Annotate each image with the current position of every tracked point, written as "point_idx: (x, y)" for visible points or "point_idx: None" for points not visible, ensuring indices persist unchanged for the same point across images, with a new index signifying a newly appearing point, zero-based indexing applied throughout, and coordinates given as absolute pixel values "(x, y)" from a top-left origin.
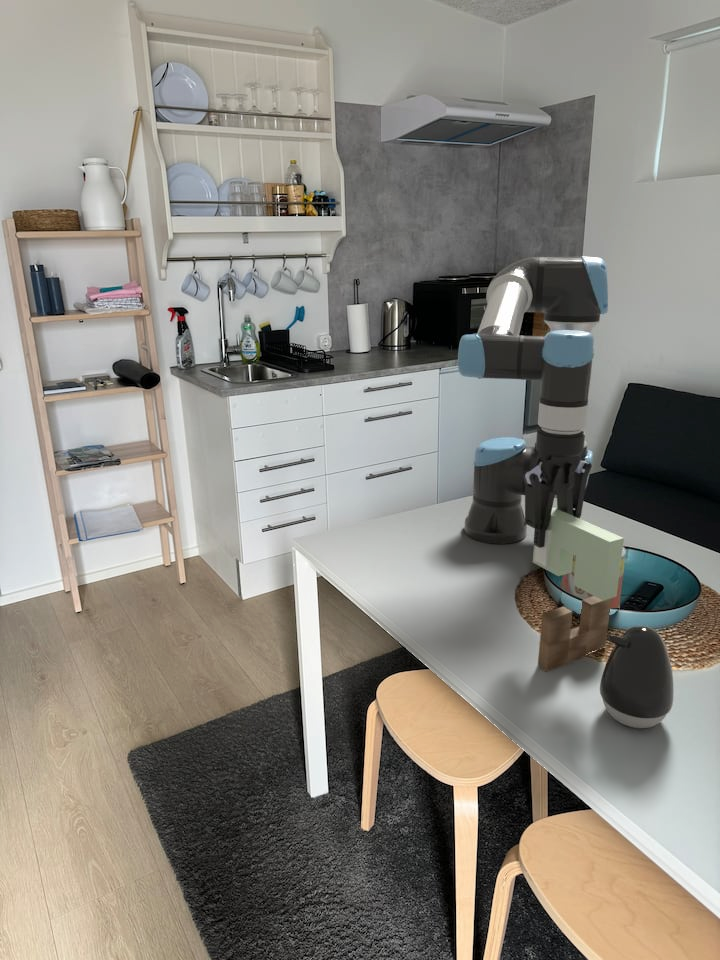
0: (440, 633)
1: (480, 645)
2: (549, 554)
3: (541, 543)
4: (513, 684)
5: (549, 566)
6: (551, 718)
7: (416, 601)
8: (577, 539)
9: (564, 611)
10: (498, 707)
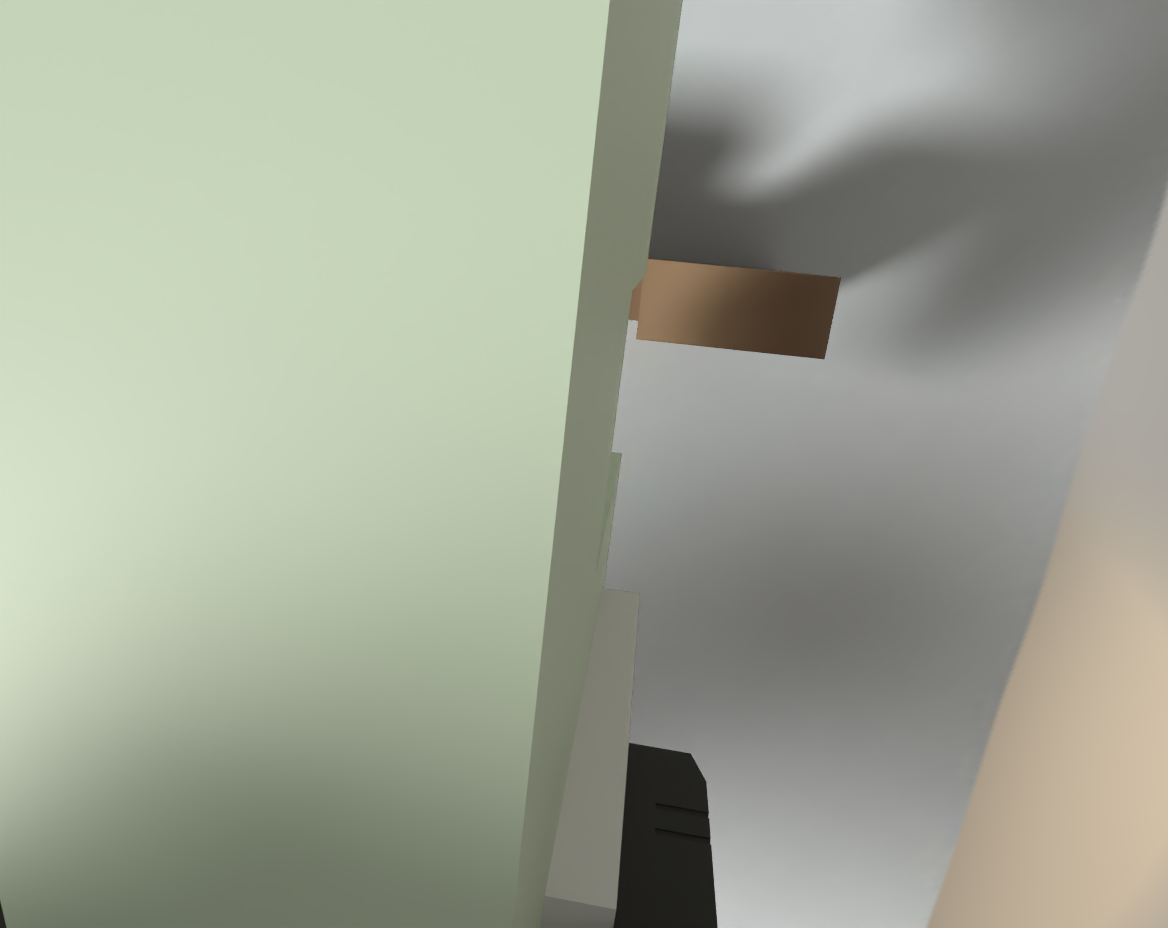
0: (878, 704)
1: (825, 560)
2: (592, 646)
3: (674, 789)
4: (959, 291)
5: (604, 574)
6: (1057, 8)
7: (769, 889)
8: (611, 321)
9: (686, 291)
10: (1155, 213)
